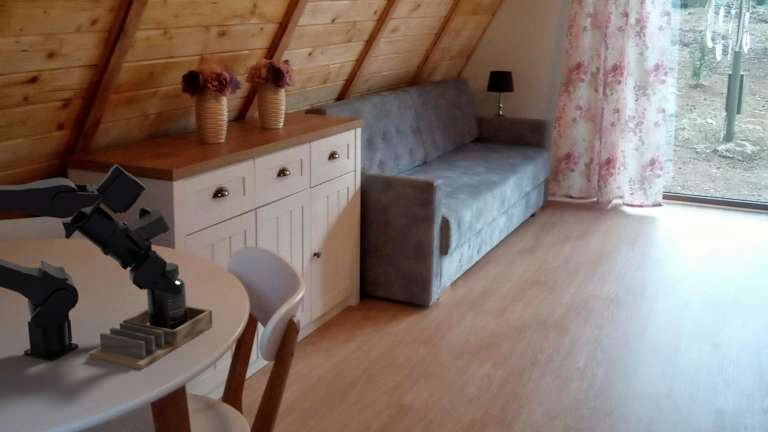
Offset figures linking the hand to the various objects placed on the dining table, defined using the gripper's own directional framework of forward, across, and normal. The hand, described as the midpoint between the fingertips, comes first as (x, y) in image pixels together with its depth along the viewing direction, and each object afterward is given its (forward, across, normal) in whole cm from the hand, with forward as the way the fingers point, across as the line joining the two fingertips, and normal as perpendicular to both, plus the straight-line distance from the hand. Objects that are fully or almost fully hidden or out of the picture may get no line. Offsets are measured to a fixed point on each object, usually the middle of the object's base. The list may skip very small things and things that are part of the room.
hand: (174, 284), depth 151 cm
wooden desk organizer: (+3, -3, +10) cm, 11 cm away
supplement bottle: (+5, 0, +7) cm, 9 cm away
